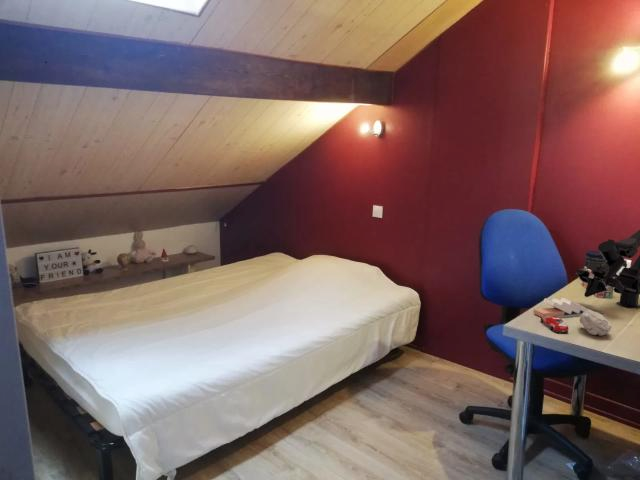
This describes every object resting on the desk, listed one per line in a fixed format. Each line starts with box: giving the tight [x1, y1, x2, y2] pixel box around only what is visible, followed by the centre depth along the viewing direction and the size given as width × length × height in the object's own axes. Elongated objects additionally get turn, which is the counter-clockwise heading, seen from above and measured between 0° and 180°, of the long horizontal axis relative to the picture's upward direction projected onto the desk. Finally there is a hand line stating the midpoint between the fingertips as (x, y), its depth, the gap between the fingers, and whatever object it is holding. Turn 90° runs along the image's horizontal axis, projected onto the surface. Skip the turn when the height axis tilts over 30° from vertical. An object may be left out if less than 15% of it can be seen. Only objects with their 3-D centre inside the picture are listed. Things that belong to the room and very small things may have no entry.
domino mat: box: [554, 306, 604, 319], centre depth 188 cm, size 22×8×1 cm, turn 107°
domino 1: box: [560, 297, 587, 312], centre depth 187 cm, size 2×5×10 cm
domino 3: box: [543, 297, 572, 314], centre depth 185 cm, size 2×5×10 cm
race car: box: [540, 316, 569, 334], centre depth 172 cm, size 13×5×4 cm, turn 179°
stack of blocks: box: [581, 266, 616, 300], centre depth 218 cm, size 21×6×12 cm, turn 168°
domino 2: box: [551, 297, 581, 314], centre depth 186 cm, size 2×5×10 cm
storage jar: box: [584, 250, 606, 267], centre depth 233 cm, size 10×10×15 cm
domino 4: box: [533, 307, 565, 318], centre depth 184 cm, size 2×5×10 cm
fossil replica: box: [579, 309, 612, 336], centre depth 166 cm, size 12×8×10 cm
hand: (585, 296), depth 188 cm, fingers closed
